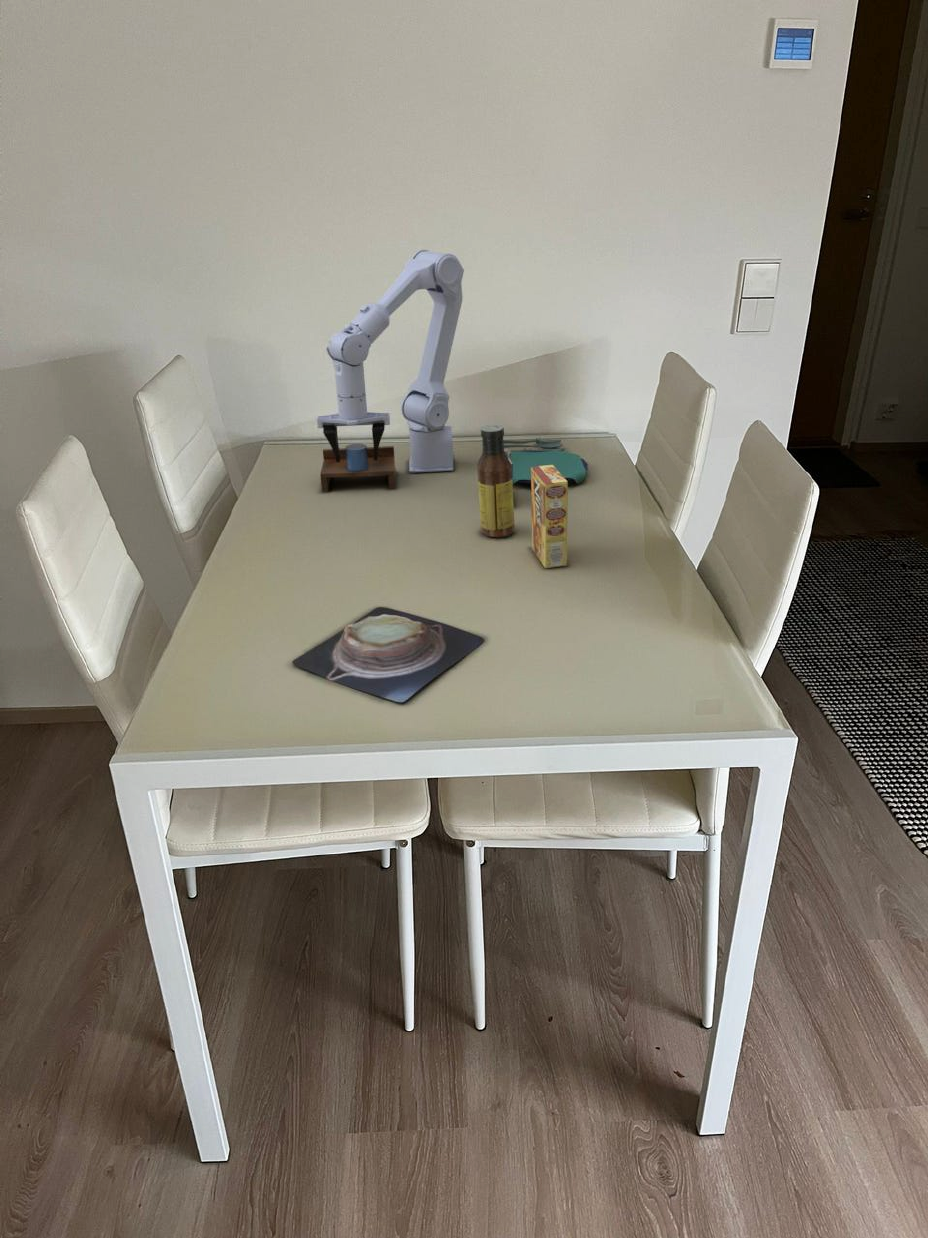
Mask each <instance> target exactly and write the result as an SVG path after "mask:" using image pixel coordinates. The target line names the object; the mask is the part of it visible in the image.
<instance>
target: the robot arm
mask: <svg viewBox="0 0 928 1238" xmlns="http://www.w3.org/2000/svg"><path fill="white" fill-rule="evenodd" d="M464 273H465V269H464V267H463V265H462V263H461V262H460V260H459V258H458V257H457V256H456V255H455V254H453V253H443V252H436V251H429V250H426V249H420V250H418V251H416V252H415V253H414V254H413V256H412V257H411V258H409V259H407V261H406V262H405V266H404V268H403V270H402V272H401V273H400V274H399V276H397V278H396V279H395V281H394V282H393V283H392V284H391V285H390V286H389V288H388V289H387V290H386V291H385V292H384V294H383V295H382V296H381V298H379V300H378V301H377V303H372V302H371V303H367V304H366V305H364V304H363V305H362V306H361V307H360V308H359V312H358V313H357V314H356V316H355V317H353V319H352V320H351V321H350V322H349V323H347V324H345V326H343V328H344V329H343V330H341V331H336V332H335V333H334V334H333V335H332V336H331V338H329V341H328V346H327V347H326V353H327V355H328V356H329V358H330V359H331V360H332V365H333V368H334V377H335V387H336V388H335V389H336V399H337V409H338V413H334V414H328V415H327V414H326V415H317V417H316V424H317V429H322V434H323V436H324V438H325V439H326V440H327V442H328V444H329V445H330V448H331V449H332V450H333V452H334V455H335V458H336V462H340V451H339V448H340V445H339V436H338V427H352V426H354V427H355V426H372V427H371V435H372V444H373V447H374V455H373V456H374V460H377V458H378V456H377V455H378V448H379V447H380V443H381V439H382V437H383V434H384V432H385V428H386V427H385V426H390V425H391V417H390V416H391V415H390V413H389V412H368V405H367V404H368V403H367V392H366V383H365V382H366V379H365V369H364V368H365V367H364V362H365V361H366V360H367V358H368V356H369V353H370V352H369V351H370V348H371V347H372V345H373V344H374V342H376V341H377V339H378V338H379V337H380V336H381V335H382V334H383V333H384V331H385V330H386V329H387V328H388V327H389V326H390V322H391V321H390V320H391V319H390V317H391V315H393V313H394V312H395V311H397V310H398V309H399V307H401V306H402V305H403V304H404V303H405V302H406V301H407V300H408V299H409V298H411V296H412V295H414V293H416V292H417V291H419V290H426V291H427V293H428V294H429V296H430V297H431V299H432V301H433V308H432V313H431V317H430V321H429V327H428V331H427V335H426V340H425V344H424V348H423V354H422V358H421V363H420V367H419V371H418V377H417V378H416V379H415V380H414V381H413V382H411V383H410V384H409V386H408V389H407V393H406V395H405V396H404V397H403V399H402V401H401V406H400V408H401V409H400V411H401V415H402V416H403V418H404V419H405V420H406V421H407V426H408V435H409V436H408V438H409V451H410V458H409V459H408V462H409V463H408V466H409V467H408V470H409V471H408V472H409V473H411V474H412V473H413V474H414V473H431V472H432V473H433V472H453V471H454V460H455V451H454V448H453V429H452V426H451V425H446V424H447V422H448V419H449V416H450V409H449V400H450V394H449V392H448V391H447V389H446V387H445V385H444V383H445V379H446V375H447V370H448V366H449V363H450V362H449V361H450V356H451V353H452V347H453V344H454V340H455V335H456V331H457V327H458V322H459V318H460V313H461V309H462V303H463V298H464V297H463V287H462V282H463V277H464Z"/></svg>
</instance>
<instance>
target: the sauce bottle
mask: <svg viewBox="0 0 928 1238" xmlns="http://www.w3.org/2000/svg"><path fill="white" fill-rule="evenodd" d="M480 436H481V440H482V453H481V456H480V458H479V459H478V461H477V465H476V466H477V488H478V489H477V490H478V502H479V503H478V504H479V518H480V519H479V521H480V526H481V527H480V529H481V532H482V534H483V535H485V536H486V537H491V538H504V537H508V536H510V535H512V534H513V533H514V530H515V503H514V484H513V482H512V474H511V463H510V461H509V459H508V457H507V455H506V454H505V452H504V444H503V440H504V436H505V429H504V426H503V425H500V424H487V425H484V426H482V427H481V428H480Z"/></svg>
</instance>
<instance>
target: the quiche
mask: <svg viewBox="0 0 928 1238" xmlns="http://www.w3.org/2000/svg"><path fill="white" fill-rule="evenodd" d="M484 641H485V638H484V637H483V636H480V635H478V634H474V633H472V632H469V631H467V630H465V629H461V628H458V627H456V626H453V625H450V624H447V623H444V622H440V621H437V620H433V619H430V618H426V617H423V616H420V615H417V614H412V613H409V612H405V611H401V610H397V609H395V608H394V609H393V608H390V607H385V606H377V607H376V608H374V609H372V610H371V611H369V612H368V613H366V614H364V615H363V616H362V617H359V619H358V620H356V621H354V622H353V623H350V624H349V623H348V625H346V626H345V628H344V629H342V630H340V631H338V632H337V633H335V634H333V635H332V636H330V637H328V639H325V640H324V641H322V642H321V643H319V644H318V645H316V646H314V647H312V648H311V649H309V650H307V651H306V652H304V653H303V654H301V655H299V656H298V657H296V658H294V659H293V660H292V662H291V663H292V664H293V665H294V666H296V667H298V668H300V669H304V670H306V671H309V672H311V673H314V674H315V675H318V676H320V677H321V678H325V679H326V680H329V681H332V682H334V683H337V684H339V685H343V686H346V687H348V688H351V689H354V690H358V691H361V692H365V693H367V694H370V695H374V696H377V697H380V698H383V699H387V700H390V701H393V702H397V703H404V702H406V701H408V699H410V698H411V697H412V696H414V694H416V693H417V692H418V691H420V690H421V689H422V688H423V687H425V686H426V685H427V684H428V683H430V682H431V681H432V680H434V679H435V678H436V677H438V676H439V675H441V674H442V673H444V672H445V671H446V670H447V669H449V668H451V667H452V666H453V665H455V664H456V663H458V662H459V661H460V660H462V659H464V658H465V657H466V656H467V655H469V654H470V653H471V652H473V651H474V650H475V649H476V648H478V647H479V646H480V645H481V644H483V643H484Z"/></svg>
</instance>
